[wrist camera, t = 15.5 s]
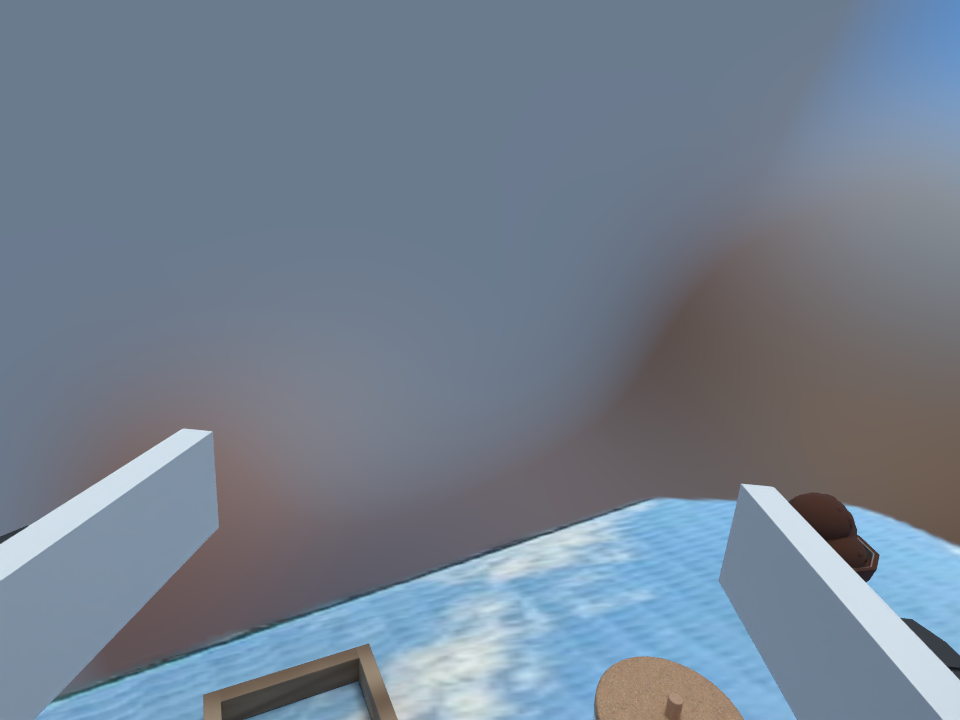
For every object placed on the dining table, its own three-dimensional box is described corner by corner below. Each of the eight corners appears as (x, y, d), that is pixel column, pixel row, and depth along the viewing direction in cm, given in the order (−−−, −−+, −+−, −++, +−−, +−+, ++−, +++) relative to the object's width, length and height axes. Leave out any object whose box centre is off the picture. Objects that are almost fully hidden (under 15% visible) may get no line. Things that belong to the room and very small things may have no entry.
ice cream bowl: (869, 662, 54) (912, 534, 50) (749, 624, 58) (780, 503, 54) (844, 598, 63) (879, 486, 59) (743, 568, 67) (769, 462, 63)
